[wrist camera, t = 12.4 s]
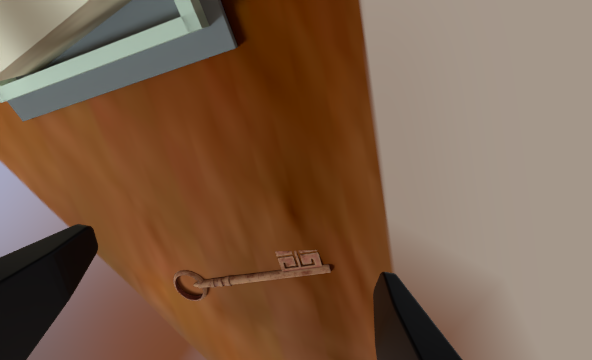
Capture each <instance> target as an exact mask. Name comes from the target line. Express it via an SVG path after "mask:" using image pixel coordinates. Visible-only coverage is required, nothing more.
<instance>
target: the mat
mask: <svg viewBox="0 0 592 360" xmlns="http://www.w3.org/2000/svg"><path fill="white" fill-rule="evenodd" d="M199 1H200V4H201V6H202V9H203V11H204V14H205V16H206V19H207V21H208V24H209V27H206V28H204V29H201V30H198V31H195V32H193V33H190V34H187V35H185V36H182V37H179V38H177V39H174V40H171V41H168V42H166V43H163V44H160V45H158V46H155V47H152V48H150V49H147V50H144V51H141V52H139V53H136V54H133V55H131V56H128V57H125V58H123V59H120V60H117V61H114V62H112V63H109V64H106V65H104V66H101V67H98V68H96V69H93V70H90V71H87V72H85V73H82V74H79V75H77V76H74V77H71V78H69V79H66V80H63V81H60V82H58V83H55V84H52V85H50V86H47V87H44V88H42V89H39V90H36V91H33V92H31V93H28V94H25V95H23V96H20V97H17V98H14V99H11V100H8V101H7V102H8V103H9V104H10V105H11V107H12V108H13V109H14V110H15V112H16V113H17V114H18V116H19V117H20V118H21V119H22V121H26V120H29V119H31V118H34V117H37V116H40V115H43V114H46V113H49V112H52V111H55V110H58V109H60V108H63V107H66V106H69V105H72V104H75V103H78V102H81V101H84V100H87V99H89V98H92V97H95V96H98V95H101V94H104V93H107V92H110V91H113V90H116V89H118V88H121V87H124V86H127V85H130V84H133V83H136V82H139V81H142V80H145V79H147V78H150V77H153V76H156V75H159V74H162V73H165V72H168V71H171V70H174V69H177V68H179V67H182V66H185V65H188V64H191V63H194V62H197V61H200V60H203V59H206V58H208V57H211V56H214V55H217V54H220V53H223V52H226V51H229V50H232V49H235V48H237V47H238V46H237V43H236V41H235V38H234V35H233V33H232V30H231V27H230V25H229V22H228V19H227V17H226V14H225V11H224V9H223V6H222V3H221V1H220V0H199ZM179 17H181V15H180V13H179V11H178V8H177V6H176V4H175V2H174V0H132V1H130V2H129V3H128V4H126V5H125V6H124V7H122V8H121V9H120V10H118V11H117V12H116V13H115V14H113V15H112V16H111V17H109V18H108V19H107V20H105V21H104V22H103V23H101V24H100V25H99V26H98V27H96V28H95V29H94V30H92V31H91V32H90V33H88V34H87V35H86V36H84V37H83V38H82V39H81V40H79V41H78V42H77V43H75V44H74V45H73V46H71V47H70V48H69V49H67V50H66V51H65V52H64V53H62V54H61V55H60V56H58V57H57V58H56V59H54V60H53V61H52V62H50V63H49V64H48V65H47V66H45V67H44V68H43V69H41V70H40V71H42V70H44V69H47V68H50V67H52V66H55V65H57V64H60V63H63V62H65V61H68V60H70V59H73V58H75V57H78V56H81V55H83V54H86V53H88V52H91V51H93V50H96V49H99V48H101V47H104V46H106V45H109V44H111V43H114V42H117V41H119V40H122V39H124V38H127V37H130V36H132V35H135V34H137V33H140V32H142V31H145V30H148V29H150V28H153V27H155V26H158V25H160V24H163V23H166V22H168V21H171V20H173V19H176V18H179ZM38 72H39V71H38ZM34 73H37V72H34ZM34 73H30V74H26V75H22V76H18V77H15V78H16V79H17V80H19V79H21V78H24V77H26V76H29V75H32V74H34Z"/></svg>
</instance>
